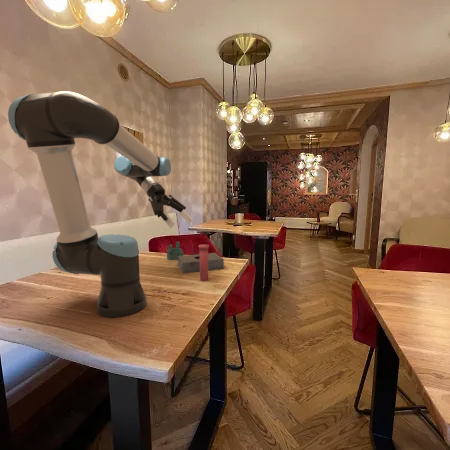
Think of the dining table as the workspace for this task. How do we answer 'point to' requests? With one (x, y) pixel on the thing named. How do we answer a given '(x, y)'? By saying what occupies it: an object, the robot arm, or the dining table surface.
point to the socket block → (193, 263)
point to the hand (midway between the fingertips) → (182, 223)
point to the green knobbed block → (174, 252)
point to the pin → (203, 262)
